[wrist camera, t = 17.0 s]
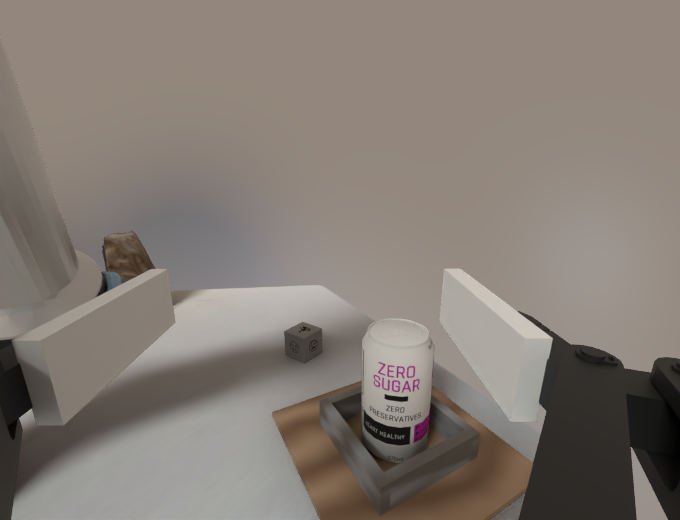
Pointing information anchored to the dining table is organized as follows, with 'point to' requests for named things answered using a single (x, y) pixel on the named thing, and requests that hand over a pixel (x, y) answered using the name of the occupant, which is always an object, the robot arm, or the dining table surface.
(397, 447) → the supplement can
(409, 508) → the collar board
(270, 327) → the dining table surface
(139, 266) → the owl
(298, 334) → the dice cube
